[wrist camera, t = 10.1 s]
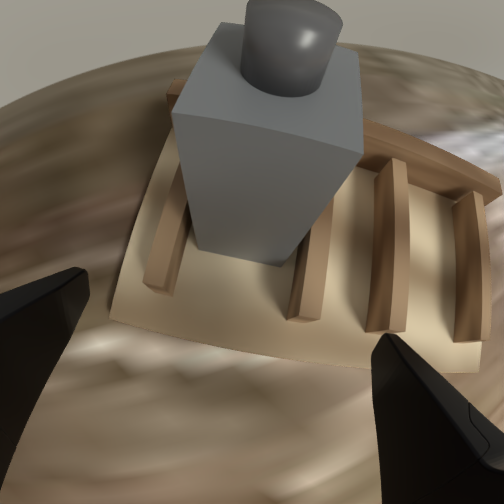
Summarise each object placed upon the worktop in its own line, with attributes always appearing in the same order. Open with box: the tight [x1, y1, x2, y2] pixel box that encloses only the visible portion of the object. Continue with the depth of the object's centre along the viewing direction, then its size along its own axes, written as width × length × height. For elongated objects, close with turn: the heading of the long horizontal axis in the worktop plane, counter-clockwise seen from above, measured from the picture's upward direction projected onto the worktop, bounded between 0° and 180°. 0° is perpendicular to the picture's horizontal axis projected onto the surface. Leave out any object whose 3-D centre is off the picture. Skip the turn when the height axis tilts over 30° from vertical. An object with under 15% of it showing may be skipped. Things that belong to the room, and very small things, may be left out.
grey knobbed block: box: [171, 0, 364, 267], centre depth 11 cm, size 4×4×12 cm
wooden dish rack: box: [109, 79, 502, 373], centre depth 16 cm, size 14×24×5 cm, turn 79°
